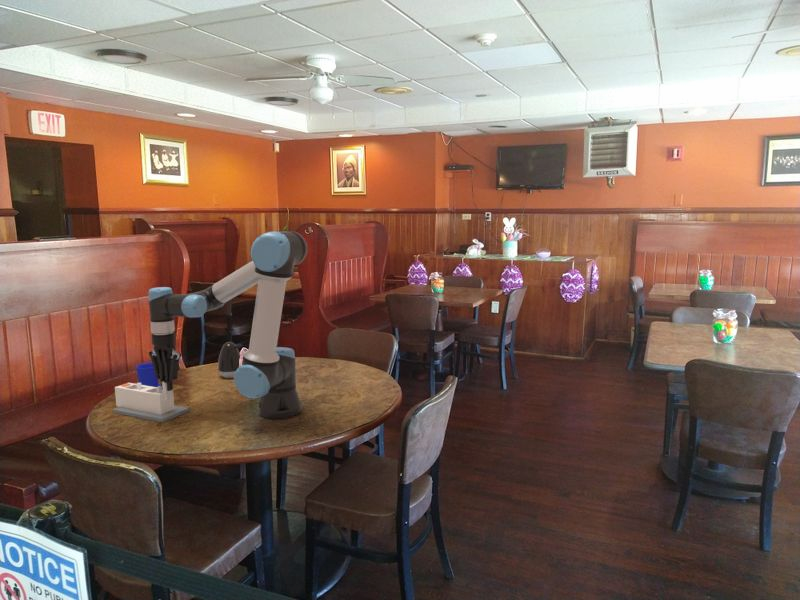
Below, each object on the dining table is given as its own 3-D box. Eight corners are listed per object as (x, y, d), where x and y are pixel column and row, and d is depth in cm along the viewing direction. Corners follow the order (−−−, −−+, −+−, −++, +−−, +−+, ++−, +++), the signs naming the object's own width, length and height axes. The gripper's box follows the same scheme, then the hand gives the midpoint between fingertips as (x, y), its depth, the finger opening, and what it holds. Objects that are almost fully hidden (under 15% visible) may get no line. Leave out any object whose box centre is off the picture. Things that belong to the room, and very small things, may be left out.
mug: (160, 393, 223) (158, 369, 222) (133, 392, 226) (131, 367, 224) (173, 387, 231) (171, 363, 230) (146, 385, 234) (144, 362, 232)
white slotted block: (174, 409, 202) (173, 389, 201) (160, 414, 197) (159, 393, 196) (130, 400, 212) (128, 381, 210) (116, 405, 206) (114, 386, 205)
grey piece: (189, 411, 204) (187, 384, 202) (162, 422, 193) (160, 394, 191) (140, 402, 214) (138, 376, 212) (112, 412, 203) (110, 385, 201)
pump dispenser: (239, 380, 241) (237, 344, 239) (215, 380, 241) (213, 344, 239) (246, 373, 251) (244, 339, 249) (222, 373, 251) (220, 339, 249)
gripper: (185, 332, 196) (190, 398, 199) (158, 329, 201) (162, 393, 205) (168, 336, 189) (173, 404, 192) (140, 333, 194) (145, 399, 198)
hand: (168, 399), depth 199 cm, fingers closed
